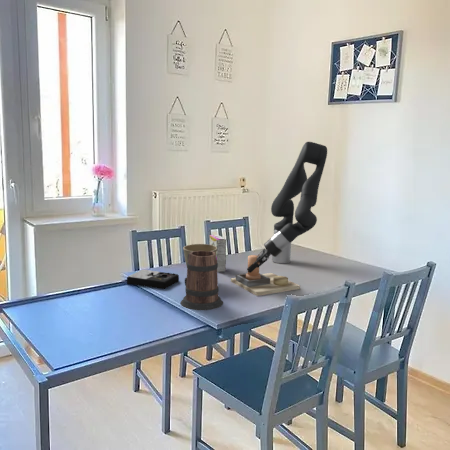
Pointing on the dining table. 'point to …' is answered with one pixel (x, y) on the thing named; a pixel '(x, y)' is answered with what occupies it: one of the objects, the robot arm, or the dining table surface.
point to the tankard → (202, 282)
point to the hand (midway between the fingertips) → (249, 269)
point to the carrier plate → (265, 284)
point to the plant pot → (197, 249)
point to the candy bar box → (219, 251)
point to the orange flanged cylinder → (255, 273)
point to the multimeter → (153, 279)
